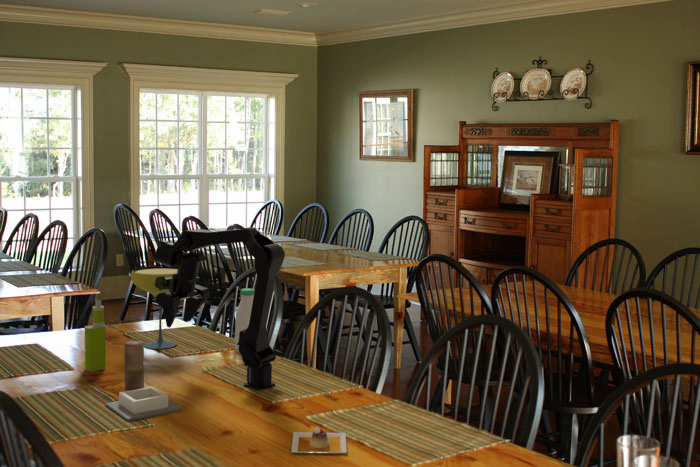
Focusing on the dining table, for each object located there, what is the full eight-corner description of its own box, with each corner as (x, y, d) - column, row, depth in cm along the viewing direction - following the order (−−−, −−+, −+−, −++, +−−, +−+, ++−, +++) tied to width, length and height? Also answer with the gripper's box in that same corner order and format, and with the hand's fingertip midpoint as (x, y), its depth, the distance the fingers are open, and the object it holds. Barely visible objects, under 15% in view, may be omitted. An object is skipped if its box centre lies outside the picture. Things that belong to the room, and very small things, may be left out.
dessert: (345, 437, 184) (345, 417, 184) (346, 457, 172) (347, 436, 172) (293, 436, 184) (293, 416, 183) (291, 456, 172) (291, 435, 171)
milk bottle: (247, 354, 253) (247, 292, 251) (230, 350, 258) (230, 289, 256) (264, 350, 260) (264, 289, 257) (247, 346, 264) (247, 286, 262)
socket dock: (157, 396, 210) (157, 382, 209) (181, 410, 199) (181, 396, 198) (105, 405, 201) (105, 391, 201) (128, 421, 190) (127, 406, 190)
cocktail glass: (146, 355, 250) (146, 276, 247) (122, 343, 263) (122, 268, 261) (198, 347, 261) (198, 271, 258) (172, 336, 275) (172, 264, 272)
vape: (108, 368, 235) (107, 300, 232) (89, 371, 230) (88, 303, 228) (102, 365, 237) (101, 299, 235) (83, 368, 233) (82, 301, 231)
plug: (147, 391, 214) (147, 343, 212) (132, 395, 210) (132, 346, 208) (136, 387, 217) (135, 340, 215) (120, 391, 213) (120, 343, 211)
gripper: (184, 260, 239) (175, 310, 242) (143, 268, 222) (135, 321, 225) (214, 271, 235) (206, 321, 238) (175, 280, 218) (166, 333, 221)
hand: (178, 324), depth 231 cm, fingers open, 9 cm apart
